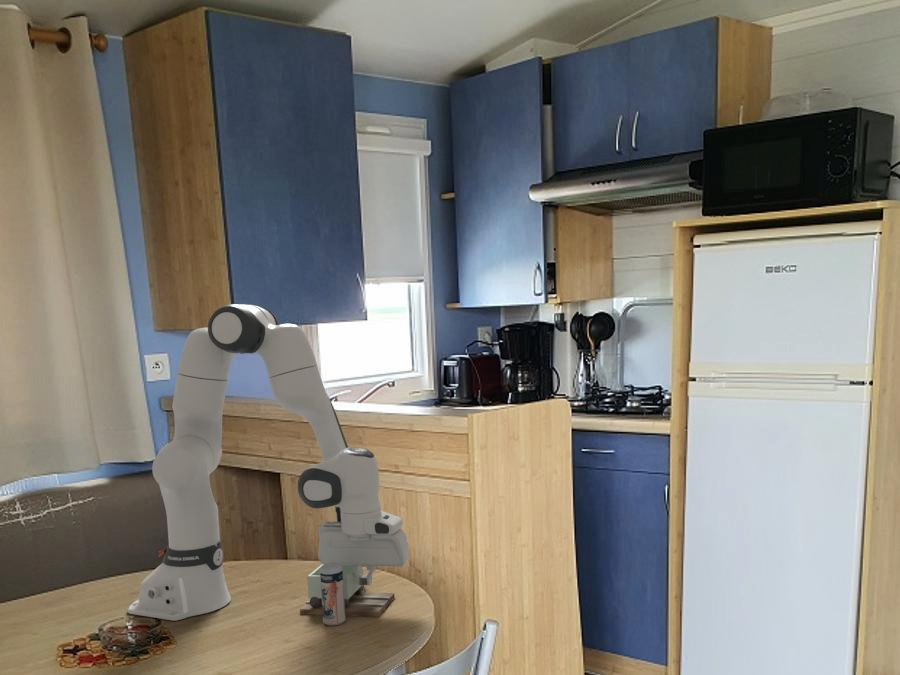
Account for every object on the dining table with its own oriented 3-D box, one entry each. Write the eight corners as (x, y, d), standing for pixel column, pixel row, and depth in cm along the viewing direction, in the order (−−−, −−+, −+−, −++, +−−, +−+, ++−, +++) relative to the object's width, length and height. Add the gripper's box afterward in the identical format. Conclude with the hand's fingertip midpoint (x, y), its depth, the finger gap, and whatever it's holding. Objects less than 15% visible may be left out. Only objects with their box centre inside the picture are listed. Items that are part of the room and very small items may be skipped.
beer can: (318, 623, 155) (314, 566, 155) (336, 615, 158) (333, 560, 158) (332, 628, 152) (328, 570, 151) (350, 621, 155) (347, 564, 155)
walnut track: (300, 613, 161) (299, 607, 161) (320, 594, 171) (320, 588, 171) (378, 617, 156) (377, 610, 156) (394, 597, 167) (394, 591, 167)
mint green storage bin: (309, 607, 161) (307, 576, 161) (326, 591, 170) (324, 562, 170) (348, 609, 159) (346, 577, 159) (363, 593, 168) (362, 563, 168)
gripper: (311, 525, 162) (315, 587, 162) (400, 526, 157) (404, 591, 157) (323, 517, 168) (326, 577, 168) (409, 518, 163) (412, 580, 163)
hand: (364, 584), depth 163 cm, fingers closed
